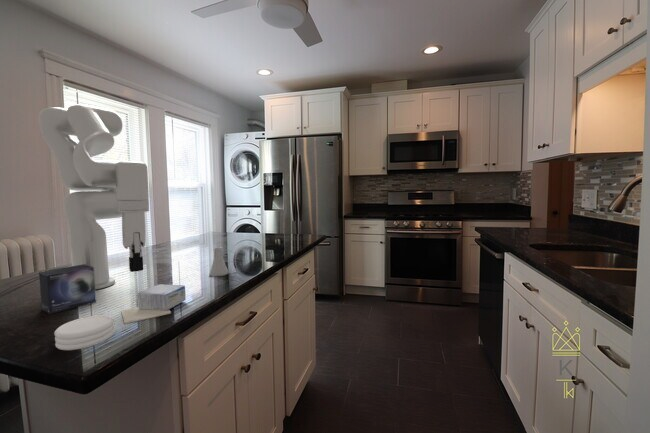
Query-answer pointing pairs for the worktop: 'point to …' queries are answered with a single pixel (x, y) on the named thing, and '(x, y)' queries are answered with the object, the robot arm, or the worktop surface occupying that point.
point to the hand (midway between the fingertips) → (136, 270)
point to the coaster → (84, 332)
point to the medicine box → (161, 297)
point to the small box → (67, 288)
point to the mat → (141, 314)
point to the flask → (218, 264)
